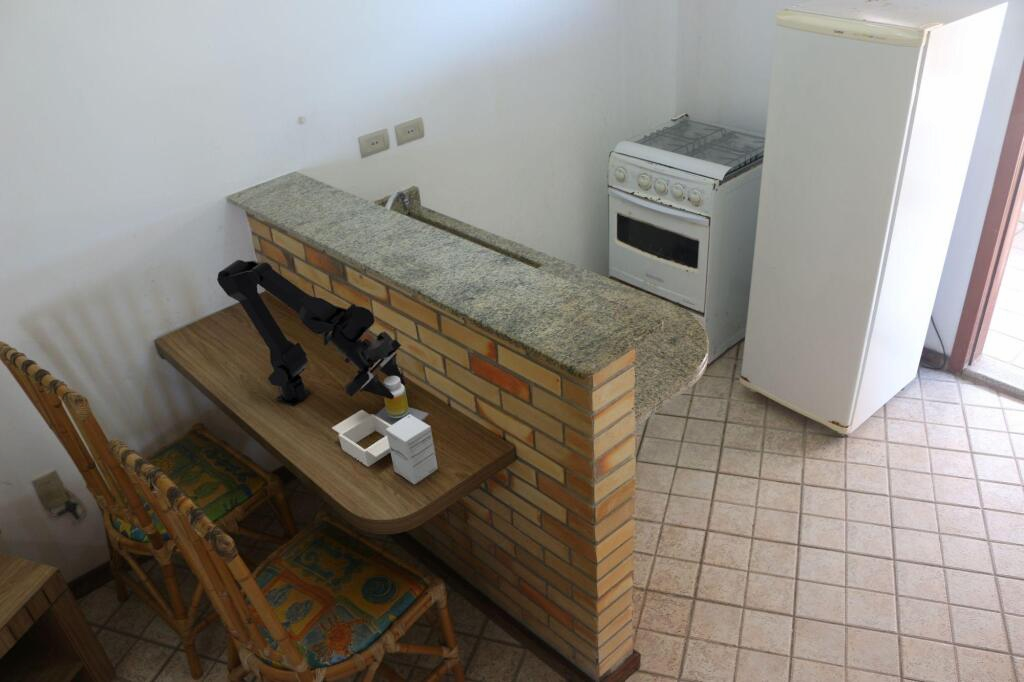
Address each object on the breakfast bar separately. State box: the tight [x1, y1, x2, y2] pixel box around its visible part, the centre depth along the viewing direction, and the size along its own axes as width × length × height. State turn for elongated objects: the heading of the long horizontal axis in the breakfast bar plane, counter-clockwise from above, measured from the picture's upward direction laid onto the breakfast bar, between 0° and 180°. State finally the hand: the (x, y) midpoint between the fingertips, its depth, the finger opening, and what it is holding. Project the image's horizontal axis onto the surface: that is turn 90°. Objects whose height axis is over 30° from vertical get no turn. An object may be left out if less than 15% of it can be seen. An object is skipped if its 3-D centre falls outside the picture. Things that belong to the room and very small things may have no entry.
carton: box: [331, 409, 391, 468], centre depth 199 cm, size 17×10×4 cm, turn 46°
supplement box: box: [386, 414, 438, 485], centre depth 188 cm, size 7×7×13 cm
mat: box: [374, 405, 430, 425], centre depth 209 cm, size 12×8×1 cm, turn 58°
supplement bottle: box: [383, 376, 409, 418], centre depth 205 cm, size 5×5×10 cm
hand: (398, 391), depth 204 cm, fingers closed on supplement bottle, 5 cm apart
